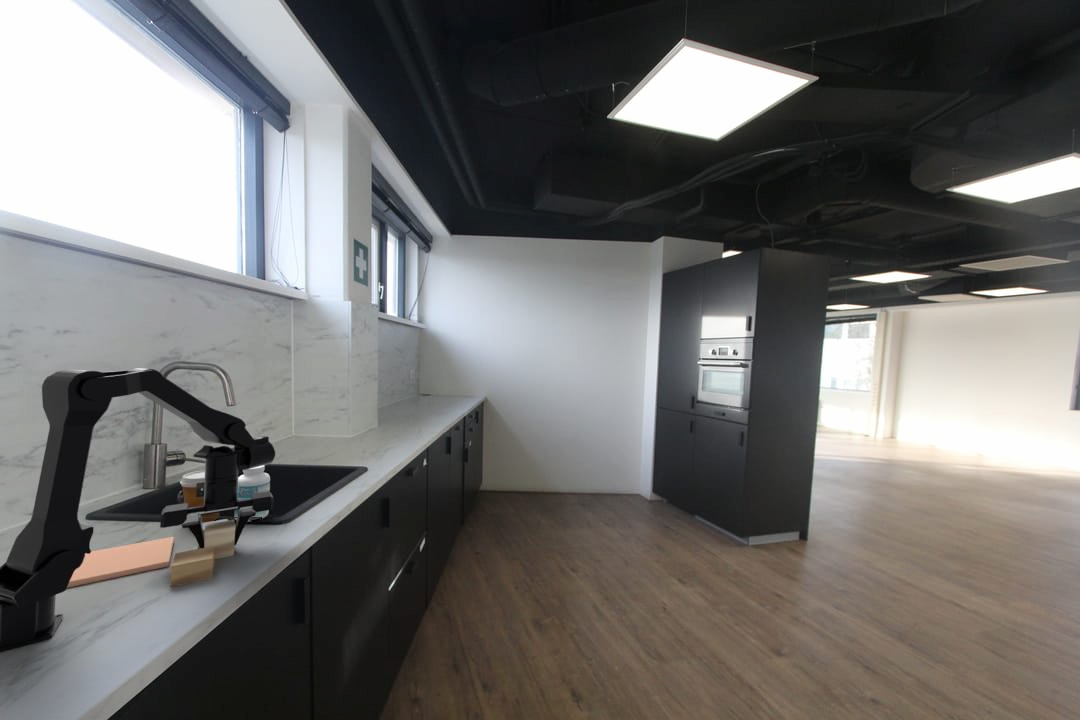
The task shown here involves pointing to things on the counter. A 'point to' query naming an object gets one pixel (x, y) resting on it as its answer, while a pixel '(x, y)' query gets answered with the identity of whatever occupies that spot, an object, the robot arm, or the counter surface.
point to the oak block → (192, 566)
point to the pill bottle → (253, 486)
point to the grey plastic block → (210, 523)
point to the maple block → (220, 538)
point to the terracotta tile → (123, 561)
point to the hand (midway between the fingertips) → (219, 547)
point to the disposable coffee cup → (190, 492)
